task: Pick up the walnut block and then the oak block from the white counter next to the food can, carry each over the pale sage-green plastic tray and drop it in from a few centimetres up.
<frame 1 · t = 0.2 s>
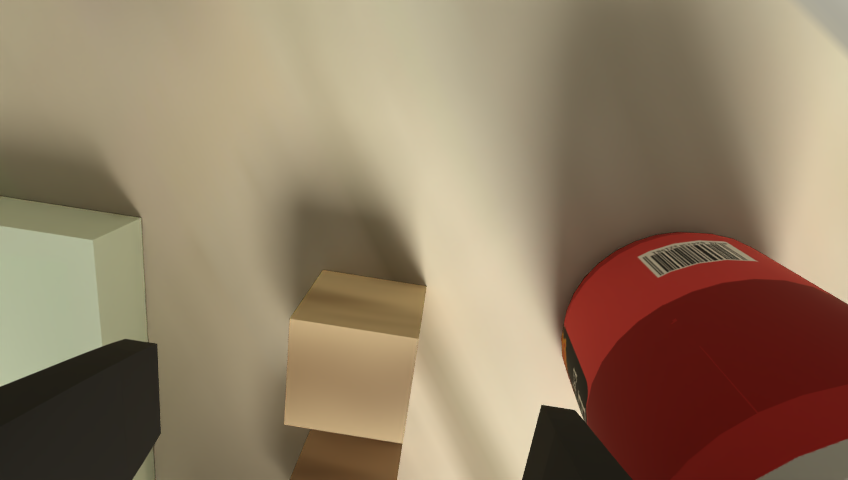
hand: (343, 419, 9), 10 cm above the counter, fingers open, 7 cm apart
canned food: (660, 320, 19), on the counter
block b: (369, 323, 20), on the counter
tray: (11, 353, 21), on the counter
block a: (352, 471, 22), on the counter
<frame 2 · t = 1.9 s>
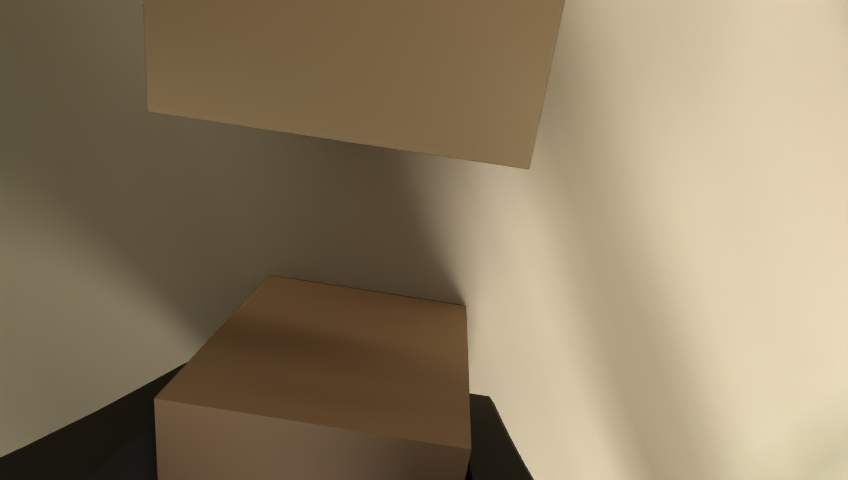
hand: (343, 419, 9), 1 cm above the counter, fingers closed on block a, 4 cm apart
block a: (358, 375, 11), on the counter, touching gripper
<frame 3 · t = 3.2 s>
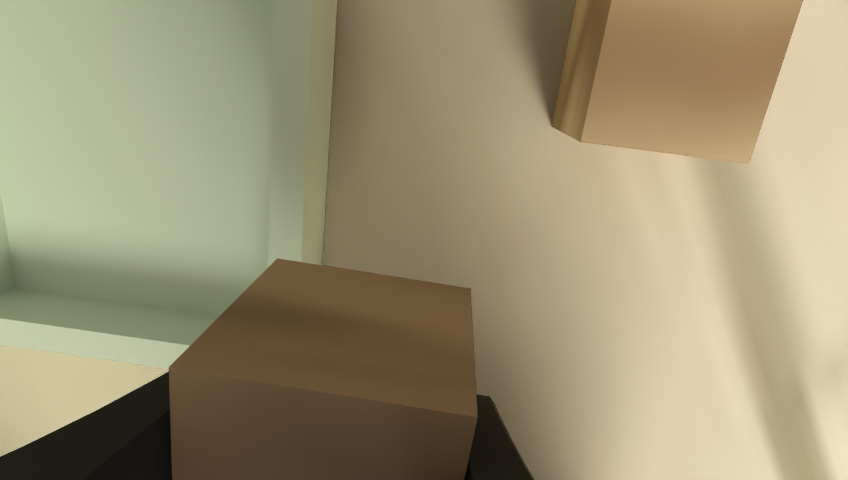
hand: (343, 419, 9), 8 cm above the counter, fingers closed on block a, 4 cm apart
block b: (630, 67, 15), on the counter
tray: (150, 137, 16), on the counter
block a: (363, 357, 11), point 7 cm above the counter, touching gripper
when the fingers open (4 cm above the counter, at t = 4.7 s): block a drops 2 cm, resting on tray.
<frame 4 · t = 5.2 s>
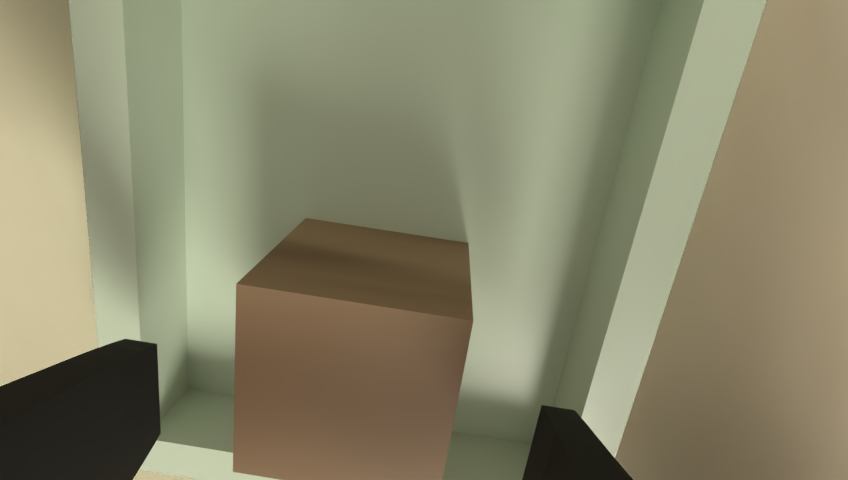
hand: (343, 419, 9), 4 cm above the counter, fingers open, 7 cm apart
tray: (392, 205, 12), on the counter
block a: (377, 304, 13), point 1 cm above the counter, touching tray
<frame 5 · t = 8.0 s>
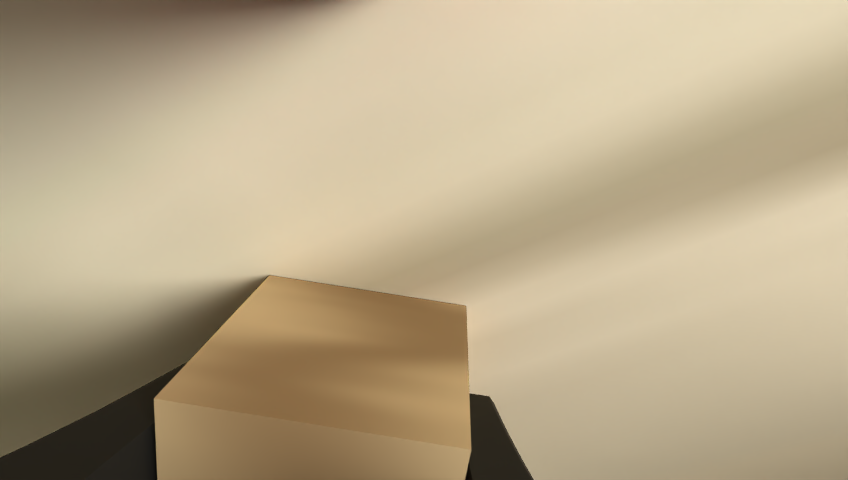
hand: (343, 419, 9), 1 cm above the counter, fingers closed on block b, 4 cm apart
block b: (357, 375, 11), on the counter, touching gripper
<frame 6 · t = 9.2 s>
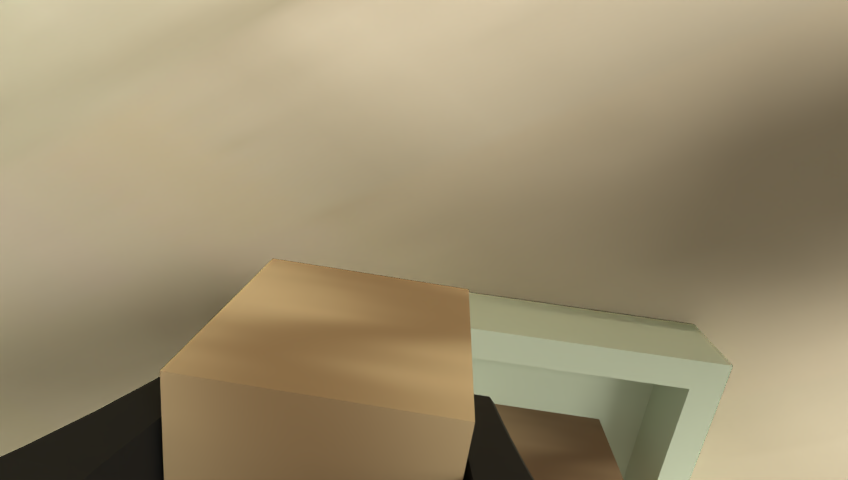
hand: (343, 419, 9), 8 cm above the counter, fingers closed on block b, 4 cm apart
block b: (360, 359, 11), point 7 cm above the counter, touching gripper
tray: (468, 434, 19), on the counter
block a: (533, 454, 19), point 1 cm above the counter, touching tray
when the fingers open (4 cm above the counter, at t = 10.7 s): block b drops 2 cm, resting on tray.
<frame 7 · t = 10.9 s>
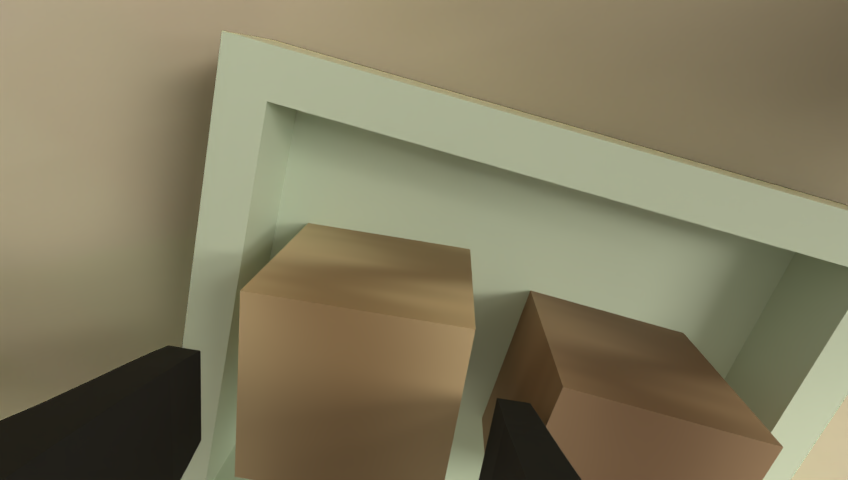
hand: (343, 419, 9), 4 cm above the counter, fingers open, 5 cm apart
block b: (379, 309, 13), point 1 cm above the counter, touching tray
tray: (486, 340, 13), on the counter
block a: (578, 377, 13), point 1 cm above the counter, touching gripper, tray
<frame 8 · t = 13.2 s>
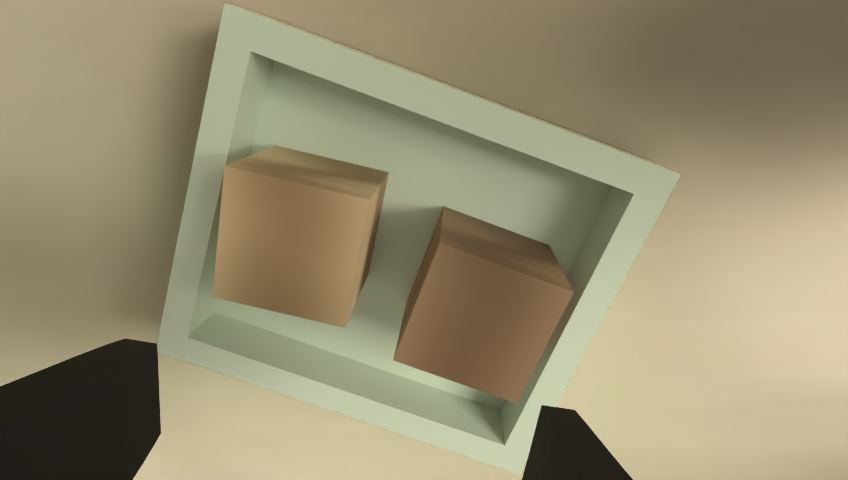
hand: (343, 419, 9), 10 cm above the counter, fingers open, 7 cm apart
block b: (323, 213, 18), point 1 cm above the counter, touching tray
tray: (401, 245, 19), on the counter
block a: (475, 274, 18), point 1 cm above the counter, touching tray
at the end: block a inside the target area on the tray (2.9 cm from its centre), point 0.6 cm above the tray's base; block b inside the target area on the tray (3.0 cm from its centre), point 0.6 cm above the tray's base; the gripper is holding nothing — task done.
